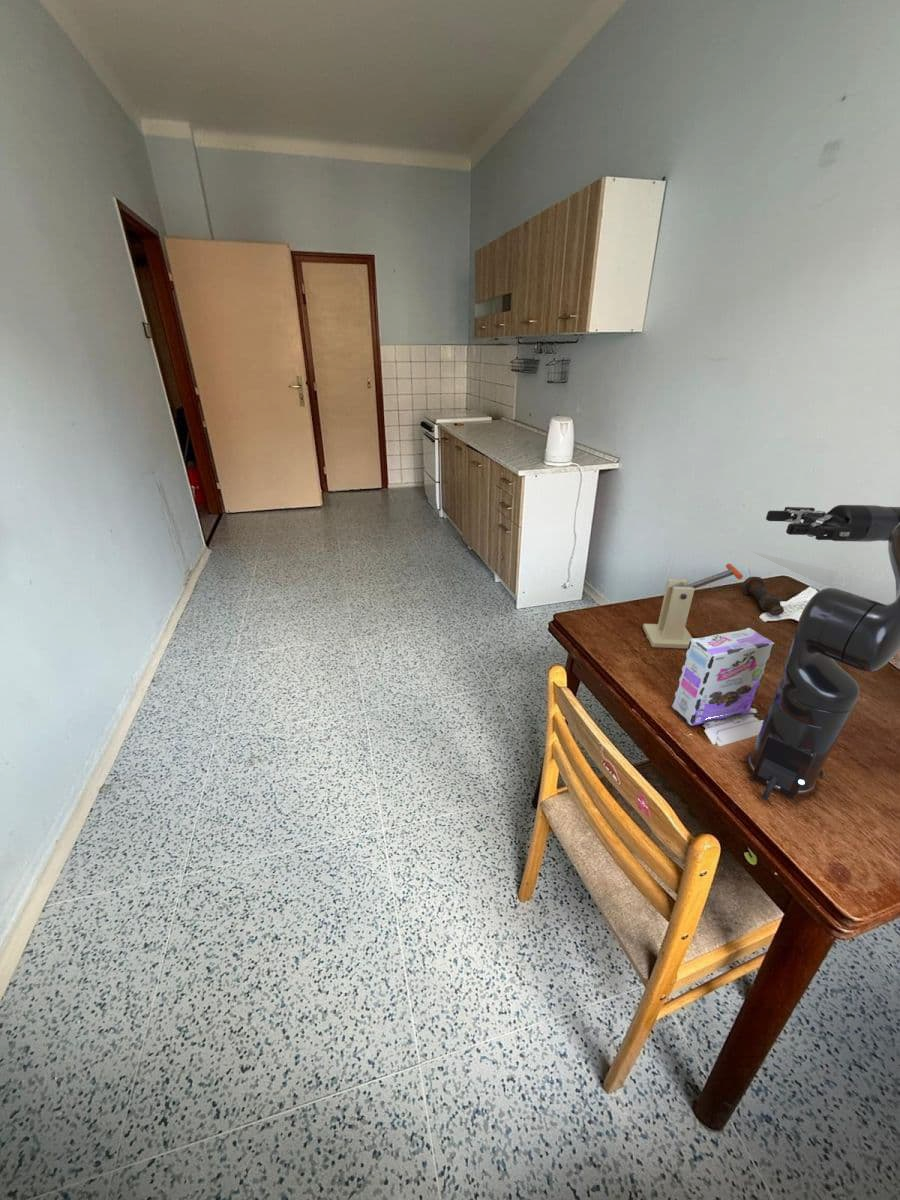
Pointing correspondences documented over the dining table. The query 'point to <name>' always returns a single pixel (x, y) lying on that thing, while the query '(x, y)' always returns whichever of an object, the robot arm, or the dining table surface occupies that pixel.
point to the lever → (713, 578)
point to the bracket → (672, 618)
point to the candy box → (721, 675)
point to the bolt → (762, 595)
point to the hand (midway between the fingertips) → (777, 522)
